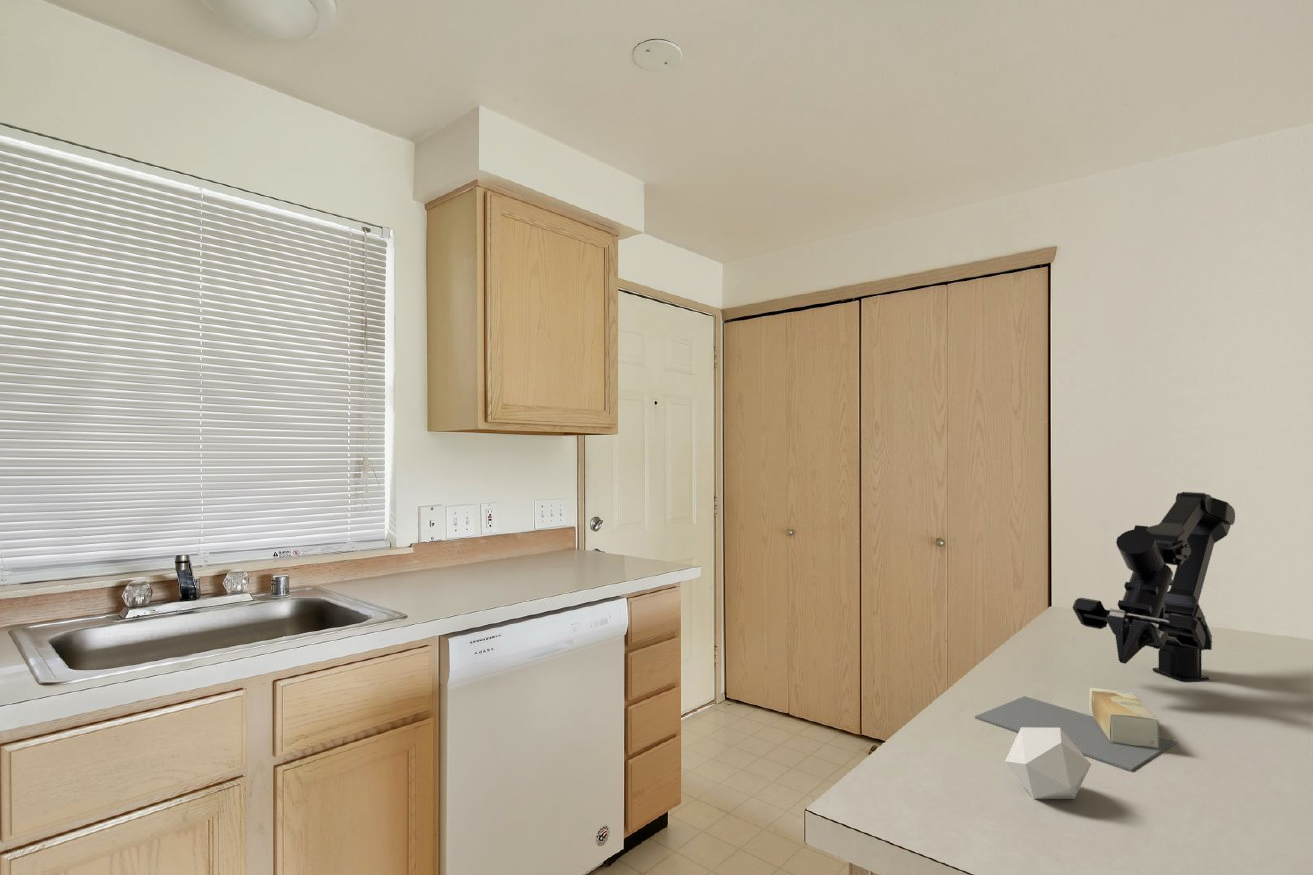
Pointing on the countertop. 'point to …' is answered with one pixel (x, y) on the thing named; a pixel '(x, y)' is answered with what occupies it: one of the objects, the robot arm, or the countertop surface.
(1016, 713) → the mat
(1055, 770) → the die
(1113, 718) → the skincare box
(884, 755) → the countertop surface
